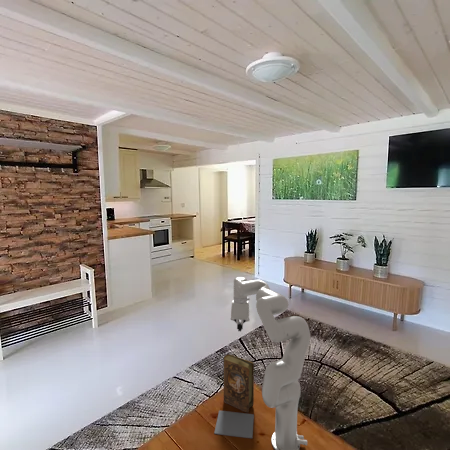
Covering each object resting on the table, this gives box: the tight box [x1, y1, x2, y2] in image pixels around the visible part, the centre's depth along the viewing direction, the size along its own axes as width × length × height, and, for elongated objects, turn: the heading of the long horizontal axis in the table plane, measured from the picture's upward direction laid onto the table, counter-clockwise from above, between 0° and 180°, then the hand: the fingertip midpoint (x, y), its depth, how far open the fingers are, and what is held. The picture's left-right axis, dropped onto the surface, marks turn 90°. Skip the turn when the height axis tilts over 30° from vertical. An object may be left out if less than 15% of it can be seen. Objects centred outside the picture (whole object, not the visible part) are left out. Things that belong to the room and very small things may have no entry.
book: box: [223, 353, 255, 414], centre depth 150 cm, size 16×6×25 cm, turn 58°
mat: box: [213, 409, 255, 439], centre depth 138 cm, size 18×14×1 cm
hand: (239, 330), depth 159 cm, fingers closed
